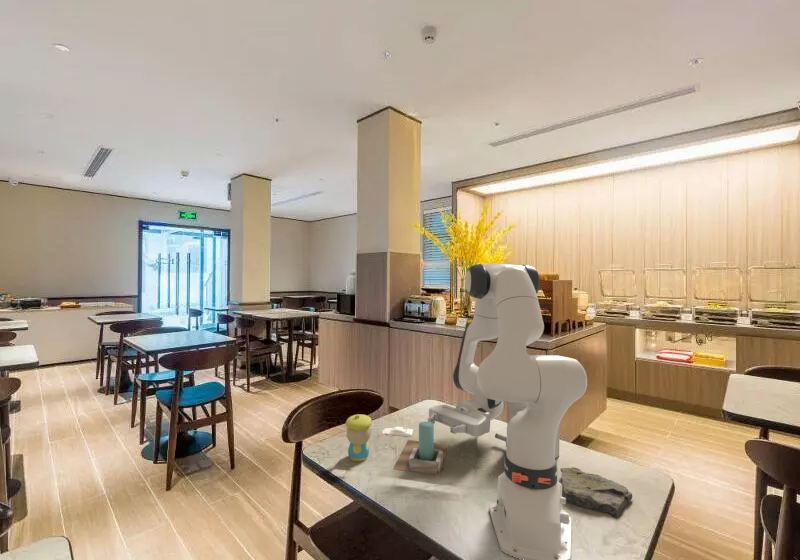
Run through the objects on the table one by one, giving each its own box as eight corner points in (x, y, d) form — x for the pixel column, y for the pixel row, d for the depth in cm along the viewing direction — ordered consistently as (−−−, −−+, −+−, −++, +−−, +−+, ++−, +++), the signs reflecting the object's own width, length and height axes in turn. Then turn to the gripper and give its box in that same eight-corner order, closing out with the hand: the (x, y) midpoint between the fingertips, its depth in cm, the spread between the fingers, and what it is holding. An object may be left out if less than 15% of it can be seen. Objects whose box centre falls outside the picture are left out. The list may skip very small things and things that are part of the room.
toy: (373, 455, 120) (374, 409, 120) (368, 470, 111) (368, 420, 111) (349, 454, 121) (349, 408, 121) (342, 469, 112) (342, 419, 112)
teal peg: (432, 469, 109) (432, 428, 109) (417, 467, 110) (417, 426, 110) (434, 462, 113) (434, 422, 113) (420, 460, 114) (420, 421, 114)
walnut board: (440, 481, 106) (440, 465, 106) (392, 474, 109) (392, 458, 109) (448, 449, 125) (449, 435, 125) (408, 444, 129) (408, 431, 128)
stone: (633, 495, 100) (633, 482, 100) (625, 525, 88) (625, 510, 88) (562, 473, 111) (563, 462, 111) (547, 497, 99) (547, 484, 99)
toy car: (382, 432, 139) (382, 423, 139) (414, 435, 136) (414, 426, 136) (379, 439, 133) (379, 429, 133) (412, 442, 131) (412, 432, 131)
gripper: (444, 397, 133) (416, 406, 124) (494, 413, 118) (466, 425, 108) (444, 415, 133) (416, 425, 124) (493, 433, 118) (466, 447, 108)
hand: (440, 425), depth 116 cm, fingers open, 8 cm apart
